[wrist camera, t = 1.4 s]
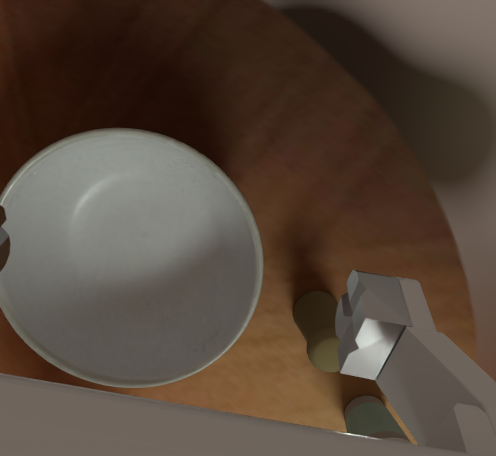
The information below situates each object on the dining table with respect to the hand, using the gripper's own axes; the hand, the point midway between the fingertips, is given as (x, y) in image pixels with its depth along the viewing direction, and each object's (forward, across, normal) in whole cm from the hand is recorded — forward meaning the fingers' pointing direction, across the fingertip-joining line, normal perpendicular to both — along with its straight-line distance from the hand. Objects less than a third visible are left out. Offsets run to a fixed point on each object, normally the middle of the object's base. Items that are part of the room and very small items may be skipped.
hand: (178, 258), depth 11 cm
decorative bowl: (+36, -9, -28) cm, 47 cm away
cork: (+35, +14, -35) cm, 51 cm away
